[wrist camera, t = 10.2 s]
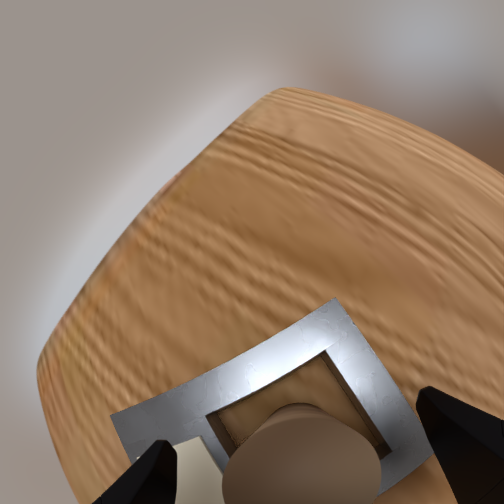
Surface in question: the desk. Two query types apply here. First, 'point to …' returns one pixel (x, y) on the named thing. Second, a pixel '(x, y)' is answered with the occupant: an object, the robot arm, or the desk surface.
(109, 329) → the desk surface
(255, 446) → the walnut peg
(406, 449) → the hole plate
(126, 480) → the robot arm
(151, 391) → the desk surface
